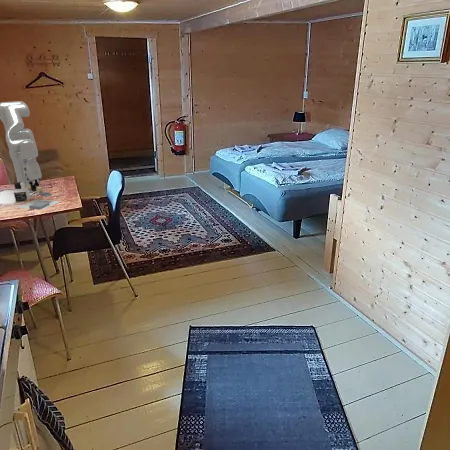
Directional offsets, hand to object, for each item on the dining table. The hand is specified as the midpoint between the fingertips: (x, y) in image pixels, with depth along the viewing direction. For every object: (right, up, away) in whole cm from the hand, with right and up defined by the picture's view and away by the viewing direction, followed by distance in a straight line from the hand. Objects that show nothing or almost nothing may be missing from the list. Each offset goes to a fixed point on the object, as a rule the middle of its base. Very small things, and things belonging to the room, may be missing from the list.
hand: (35, 189), depth 255 cm
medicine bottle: (-12, -7, +8) cm, 16 cm away
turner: (+2, -2, 0) cm, 2 cm away
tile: (+2, -10, -7) cm, 12 cm away
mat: (+3, -10, -3) cm, 11 cm away
